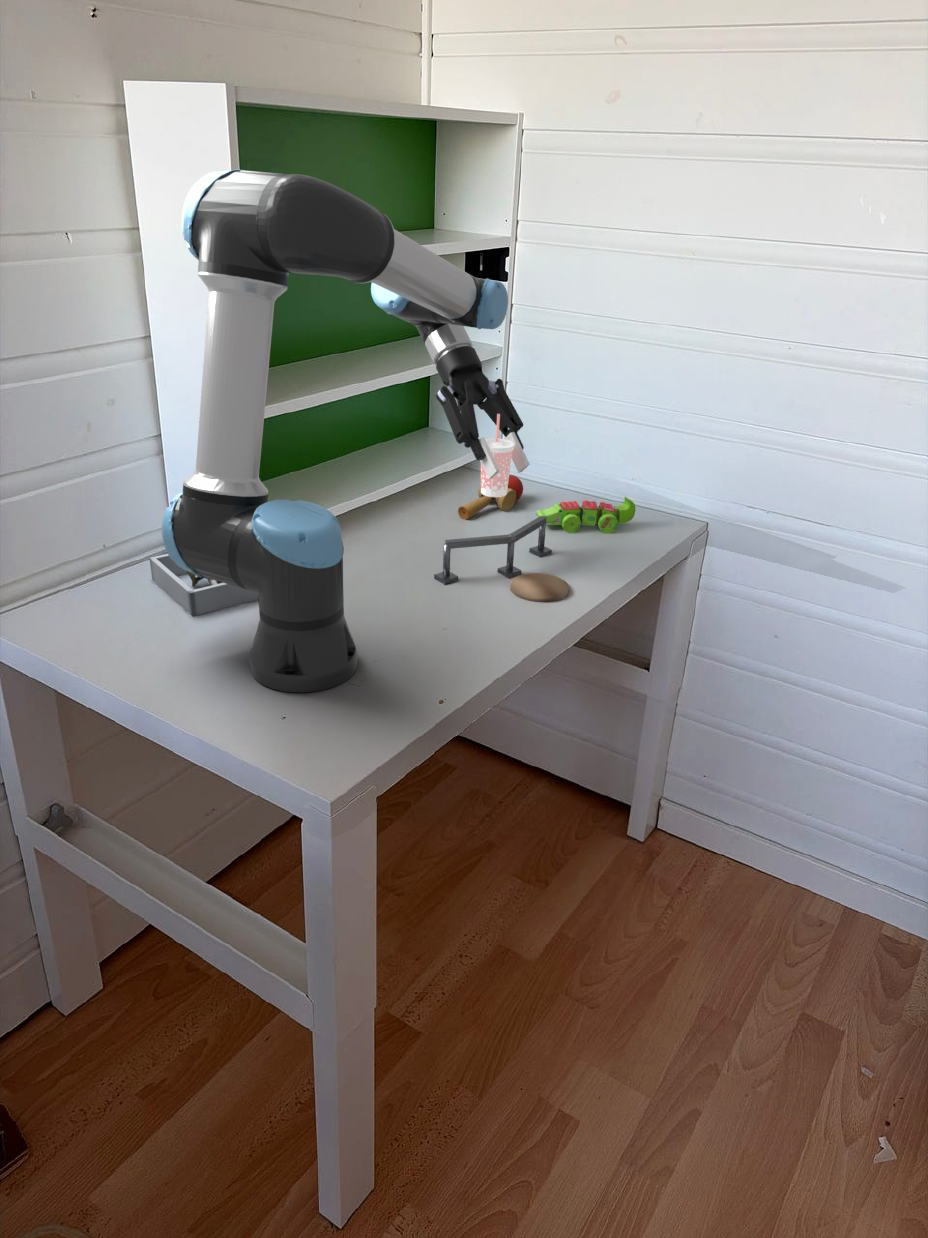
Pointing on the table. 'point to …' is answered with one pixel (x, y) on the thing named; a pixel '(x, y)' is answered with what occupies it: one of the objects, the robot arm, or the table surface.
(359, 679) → the table surface
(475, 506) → the kendama
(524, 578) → the walnut pad
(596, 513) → the toy crocodile
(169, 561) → the slate open-top tray
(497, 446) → the beverage cup
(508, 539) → the bent rail
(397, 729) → the table surface
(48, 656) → the table surface
